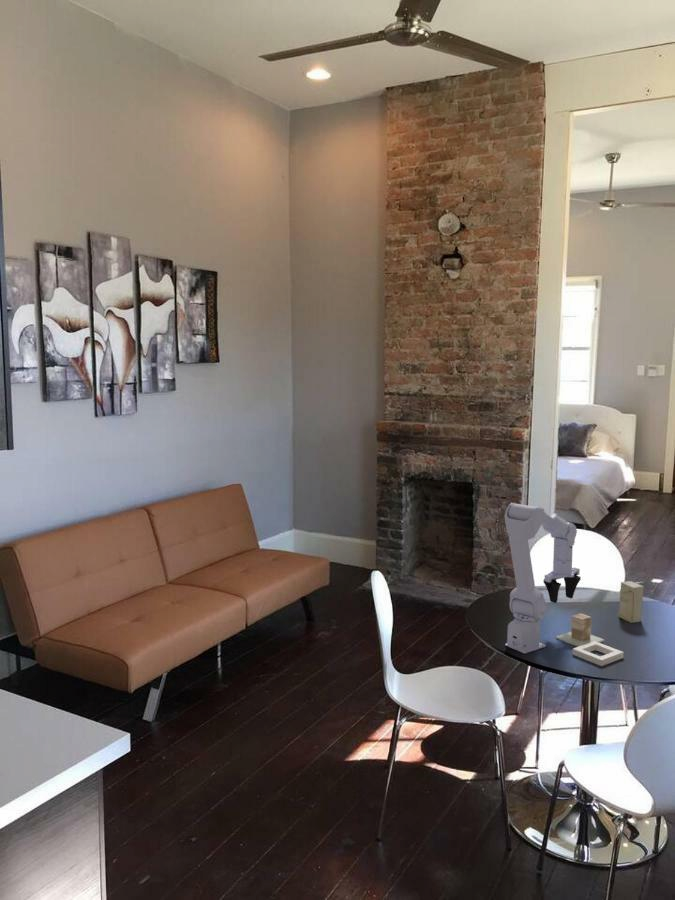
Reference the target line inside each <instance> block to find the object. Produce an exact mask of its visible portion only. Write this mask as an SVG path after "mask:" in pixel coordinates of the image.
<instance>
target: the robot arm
mask: <svg viewBox="0 0 675 900" xmlns="http://www.w3.org/2000/svg"><path fill="white" fill-rule="evenodd" d="M504 521H505V522H504V523H505V527H506V528H505V530H506V533H507V534H508V541H509V547H510V554H511V561H512V565H513V566H512V567H513V573H514V579H515V584H516V585H515V587H514V589H512V590H511V591H510V594H509V610H510V611H511V613H512V614H513V615H512V616H513V617H514V619H513V620H512V621H510V622H509V623H508V625H507V635H506V636H507V639H506V643H505V644H504V645H505V646H506V647H508V648H511V649H513V650H515V651H517V652H520V653H522V654H528V653H530V652H531V653H532V652H534V651H537V650H540V649H543V648H546V647H547V645H546V644H544V643H542V642H540V635H541V633H540V632H541V620H543V618H544V617H545V616H546V614H547V611H548V604H547V601H546V600H545V598H544V594H543V592H542V591H541V590H540V589H538V588H537V586H536V584H535V578H534V572H533V570H534V569H533V564H532V558H531V552H530V544H529V540H532V539H534V538H535V537H536V536H537V533H538V532H539V530H540V528H541V526H542V529H543V530H544V531H546V532H547V533H549V534H550V537H551V538H553V562H552V566H553V567H552V571H550V572H548V573H547V574H544V579H543V584H544V585H545V587H546V590H547V593H548V597H549V601H550V602H551V603H554V604H557V602H558V597H559V591H560V588H561V586H562V583H561V582H558V581H557V580H560V579H563V580H564V581H563V582H564V587H565V588H564V589H565V598H569V599H573V598H574V594H575V592H576V589H577V586H578V584H579V583H580V581H581V576H579V575H580V571H581V570H580V568H577V567H573V546H574V545H575V541H576V537H577V532H578V531H577V526H576V525H575V524H574V523H573V522H569V521H566V520H565V518H563V517H560V516H559V514H558V513H556V512H552V513H548V512H546V511H545V508H542V507H541V506H533V505H525V504H521V503H519V504H518V503H516V502H511V503H509V504H508V506H507V507H506V510H505V513H504Z"/></svg>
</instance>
